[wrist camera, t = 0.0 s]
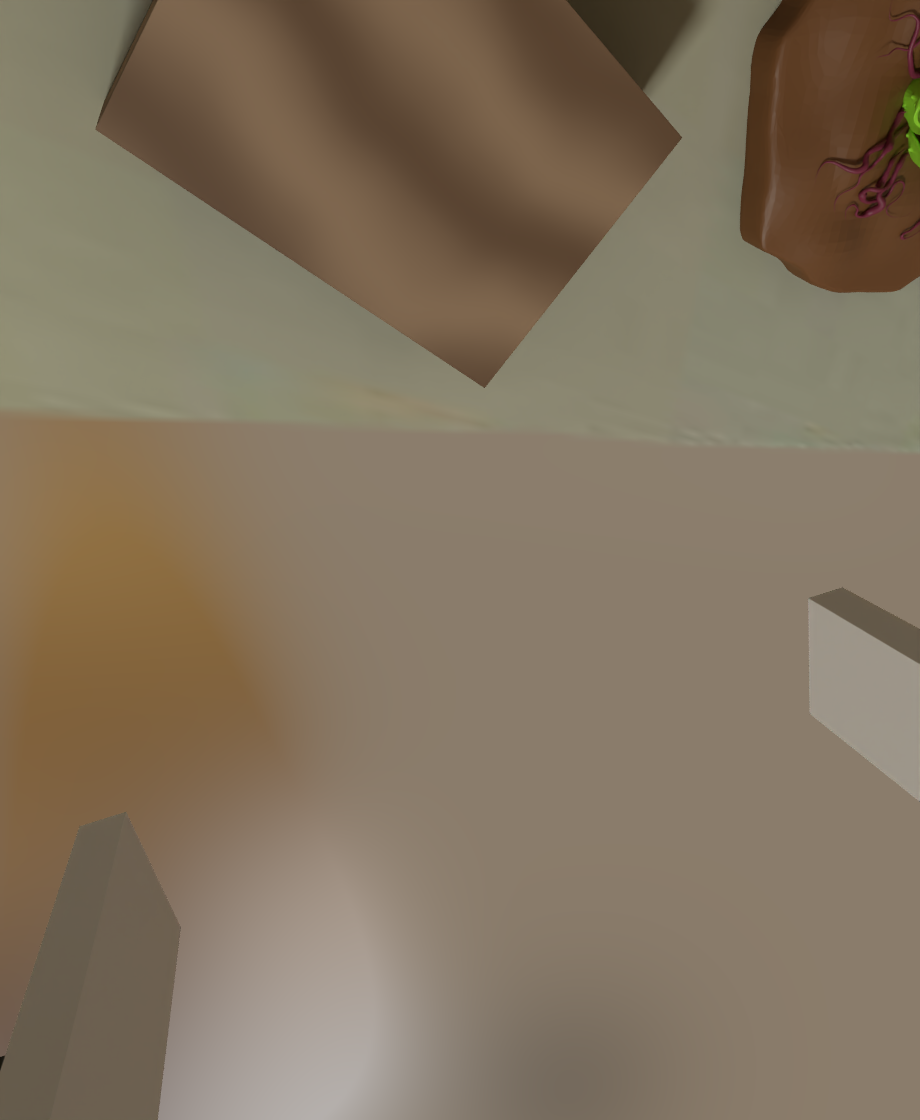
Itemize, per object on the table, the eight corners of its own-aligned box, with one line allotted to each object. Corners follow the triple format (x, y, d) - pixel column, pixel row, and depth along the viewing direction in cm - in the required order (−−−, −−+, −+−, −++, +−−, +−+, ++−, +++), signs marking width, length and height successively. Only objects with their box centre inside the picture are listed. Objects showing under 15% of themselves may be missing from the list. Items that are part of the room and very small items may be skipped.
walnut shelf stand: (284, -273, 24) (306, -308, 20) (626, 115, 35) (682, 137, 31) (103, 103, 29) (95, 129, 25) (454, 344, 39) (484, 388, 36)
